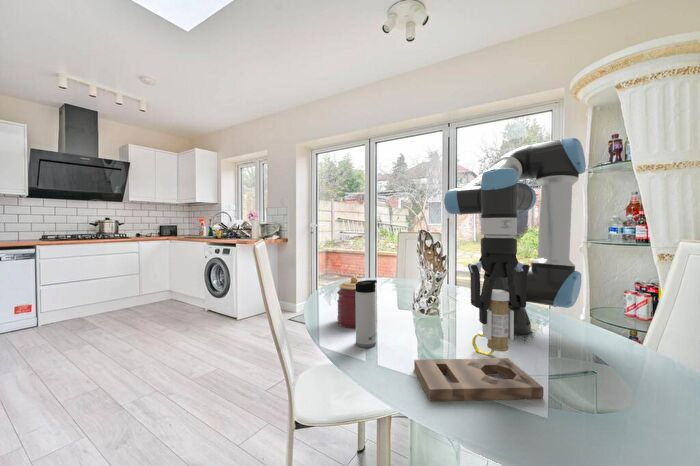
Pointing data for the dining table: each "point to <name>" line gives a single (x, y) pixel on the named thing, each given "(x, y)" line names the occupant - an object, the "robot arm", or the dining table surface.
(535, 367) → the dining table surface
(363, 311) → the travel mug
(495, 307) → the sprinkles bottle
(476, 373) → the socket plate
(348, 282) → the canister
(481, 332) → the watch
